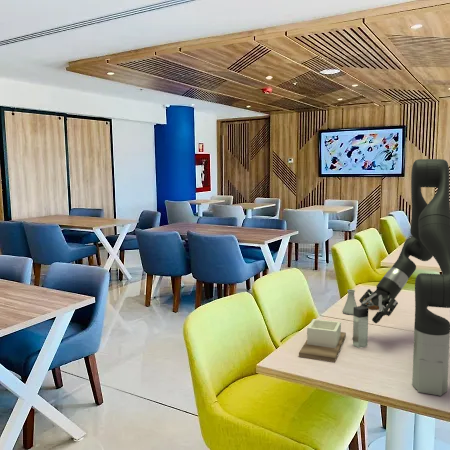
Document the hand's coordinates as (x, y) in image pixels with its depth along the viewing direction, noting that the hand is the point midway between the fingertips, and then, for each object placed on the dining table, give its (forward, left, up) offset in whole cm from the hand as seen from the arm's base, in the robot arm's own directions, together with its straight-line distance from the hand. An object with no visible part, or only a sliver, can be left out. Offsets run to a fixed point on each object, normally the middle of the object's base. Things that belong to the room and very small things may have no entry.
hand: (365, 318), depth 160 cm
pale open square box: (-6, +14, -8) cm, 17 cm away
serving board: (-7, +14, -10) cm, 18 cm away
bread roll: (+47, +1, -10) cm, 48 cm away
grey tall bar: (-2, +2, -10) cm, 10 cm away
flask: (+34, +10, -10) cm, 37 cm away
